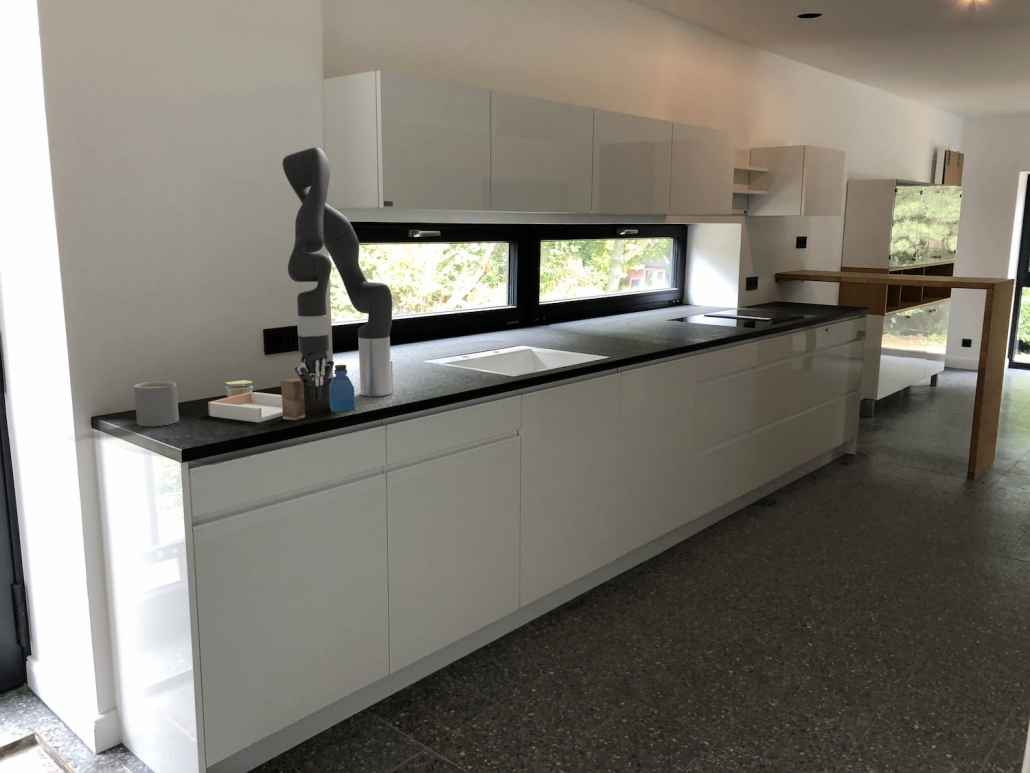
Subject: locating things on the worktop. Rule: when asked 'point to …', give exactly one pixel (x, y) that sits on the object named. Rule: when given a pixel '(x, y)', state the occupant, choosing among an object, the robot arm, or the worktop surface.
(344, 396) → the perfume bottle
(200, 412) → the worktop surface
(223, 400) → the tray
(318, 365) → the robot arm
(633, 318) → the worktop surface
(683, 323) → the worktop surface
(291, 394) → the walnut block
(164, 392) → the coffee mug
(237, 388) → the glass food container
